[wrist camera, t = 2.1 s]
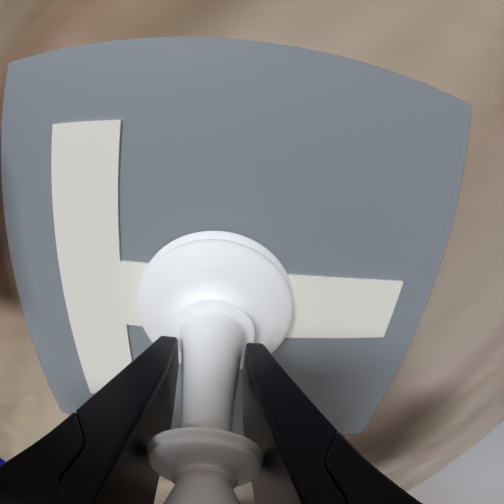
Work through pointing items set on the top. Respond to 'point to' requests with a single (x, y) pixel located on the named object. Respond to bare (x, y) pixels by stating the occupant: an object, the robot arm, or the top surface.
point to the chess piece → (212, 353)
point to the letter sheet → (228, 200)
